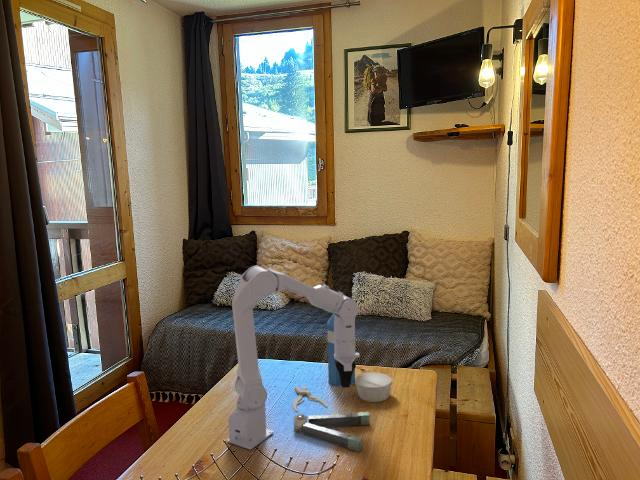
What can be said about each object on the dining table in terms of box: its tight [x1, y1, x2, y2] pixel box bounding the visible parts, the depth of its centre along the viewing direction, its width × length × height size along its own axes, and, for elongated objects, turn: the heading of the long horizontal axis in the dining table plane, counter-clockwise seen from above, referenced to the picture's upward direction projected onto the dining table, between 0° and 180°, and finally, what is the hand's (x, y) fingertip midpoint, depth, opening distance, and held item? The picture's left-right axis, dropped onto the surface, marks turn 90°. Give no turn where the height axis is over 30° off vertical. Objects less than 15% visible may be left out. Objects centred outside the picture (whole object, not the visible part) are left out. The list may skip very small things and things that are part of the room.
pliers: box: [292, 384, 328, 413], centre depth 145 cm, size 10×2×15 cm
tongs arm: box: [307, 411, 371, 428], centre depth 128 cm, size 2×16×3 cm, turn 93°
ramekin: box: [354, 372, 393, 403], centre depth 146 cm, size 11×11×5 cm
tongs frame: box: [293, 413, 364, 453], centre depth 122 cm, size 4×20×4 cm, turn 58°
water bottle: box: [326, 313, 356, 387], centre depth 156 cm, size 9×9×25 cm
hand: (345, 386), depth 133 cm, fingers closed
